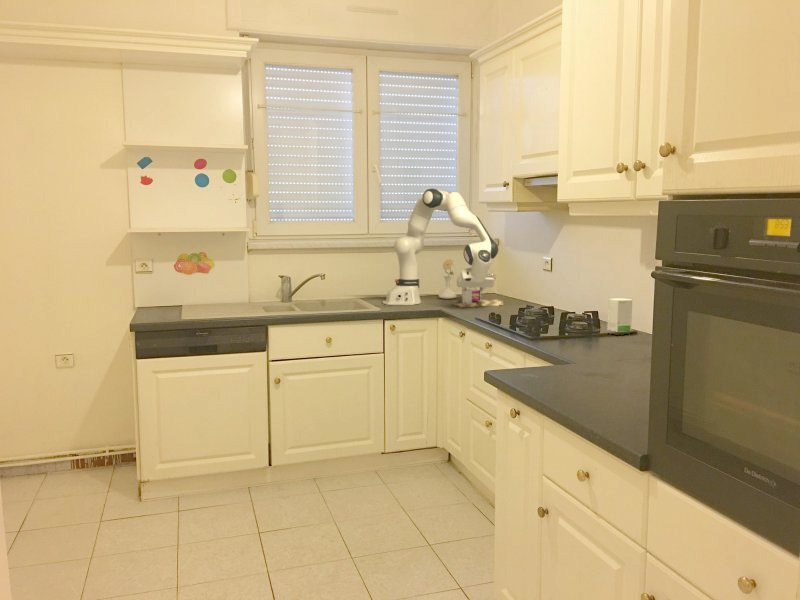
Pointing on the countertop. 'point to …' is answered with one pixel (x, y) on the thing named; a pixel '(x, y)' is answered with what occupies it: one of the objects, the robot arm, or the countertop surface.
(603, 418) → the countertop surface
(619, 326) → the skincare box
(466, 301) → the grey block
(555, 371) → the countertop surface
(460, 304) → the cork mat
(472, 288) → the candy bar box
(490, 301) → the birch box
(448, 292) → the flower in vase
